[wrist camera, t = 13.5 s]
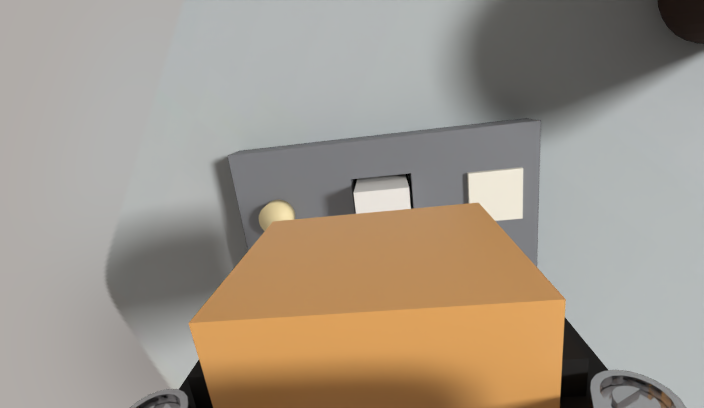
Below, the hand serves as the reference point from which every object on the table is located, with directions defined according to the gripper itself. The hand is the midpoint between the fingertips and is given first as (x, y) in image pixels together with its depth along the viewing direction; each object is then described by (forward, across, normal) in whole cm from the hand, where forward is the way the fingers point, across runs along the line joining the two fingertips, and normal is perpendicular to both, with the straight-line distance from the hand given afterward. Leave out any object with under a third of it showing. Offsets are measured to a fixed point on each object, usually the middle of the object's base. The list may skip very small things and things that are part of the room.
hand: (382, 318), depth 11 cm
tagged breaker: (+14, 0, 0) cm, 14 cm away
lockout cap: (+1, 0, 0) cm, 1 cm away
